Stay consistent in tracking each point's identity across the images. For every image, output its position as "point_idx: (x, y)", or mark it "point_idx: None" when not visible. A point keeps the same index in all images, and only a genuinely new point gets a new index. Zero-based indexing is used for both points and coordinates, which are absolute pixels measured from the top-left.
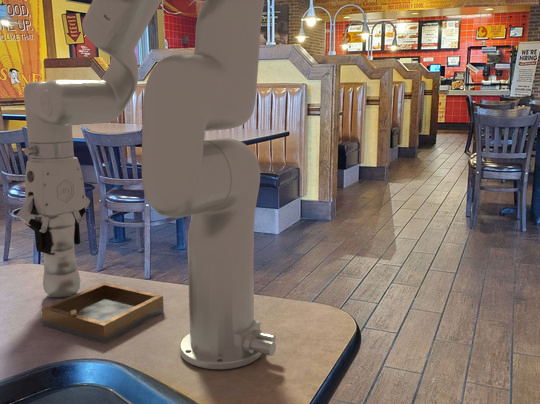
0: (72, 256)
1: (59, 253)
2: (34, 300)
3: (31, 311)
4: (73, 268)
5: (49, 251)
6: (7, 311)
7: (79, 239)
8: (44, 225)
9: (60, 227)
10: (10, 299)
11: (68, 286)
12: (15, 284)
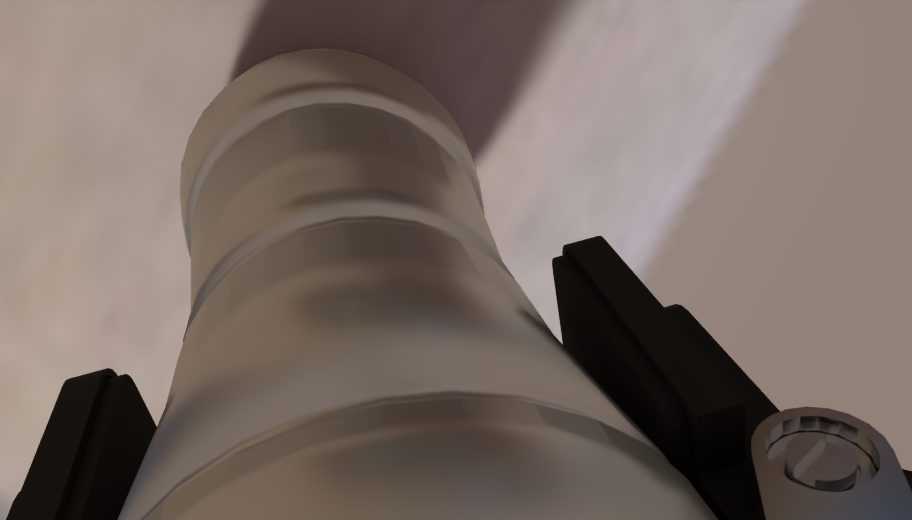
0: (267, 199)
1: (449, 220)
2: (505, 205)
3: (620, 34)
4: (273, 133)
5: (587, 243)
6: (697, 148)
7: (63, 410)
8: (846, 516)
9: (538, 418)
10: None
11: (350, 55)
12: None
